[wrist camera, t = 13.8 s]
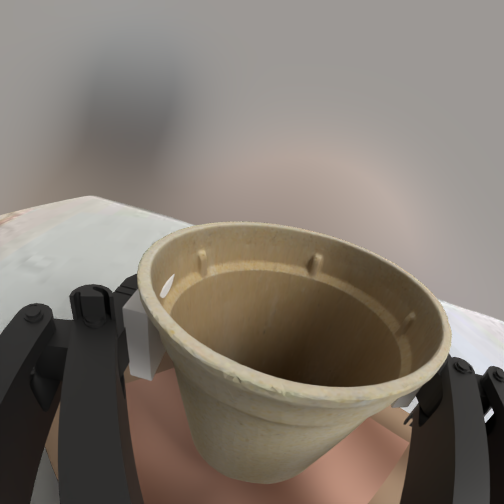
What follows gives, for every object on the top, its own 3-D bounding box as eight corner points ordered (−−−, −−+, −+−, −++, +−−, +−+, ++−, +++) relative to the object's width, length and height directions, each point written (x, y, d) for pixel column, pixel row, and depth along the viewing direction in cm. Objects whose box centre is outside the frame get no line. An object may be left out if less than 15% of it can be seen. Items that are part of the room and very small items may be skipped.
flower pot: (305, 550, 5) (471, 456, 2) (113, 437, 9) (68, 260, 6) (365, 406, 13) (435, 272, 10) (226, 345, 17) (248, 210, 14)
